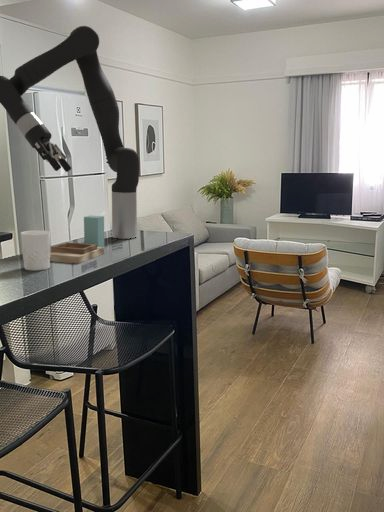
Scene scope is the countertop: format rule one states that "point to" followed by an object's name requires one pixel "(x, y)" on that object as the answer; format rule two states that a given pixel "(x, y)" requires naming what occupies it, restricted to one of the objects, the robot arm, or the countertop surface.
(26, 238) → the white cup
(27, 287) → the countertop surface
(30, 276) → the countertop surface
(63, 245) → the tan flat rimmed tray
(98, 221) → the pale teal block
